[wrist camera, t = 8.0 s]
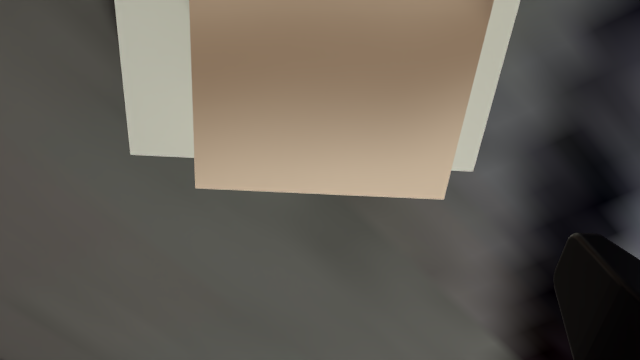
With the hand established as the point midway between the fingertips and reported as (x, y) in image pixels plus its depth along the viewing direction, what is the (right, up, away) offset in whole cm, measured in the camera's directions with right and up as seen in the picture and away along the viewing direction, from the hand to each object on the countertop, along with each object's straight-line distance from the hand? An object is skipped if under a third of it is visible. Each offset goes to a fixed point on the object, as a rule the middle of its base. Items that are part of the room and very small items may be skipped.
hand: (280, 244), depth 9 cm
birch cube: (+1, +6, +6) cm, 8 cm away
